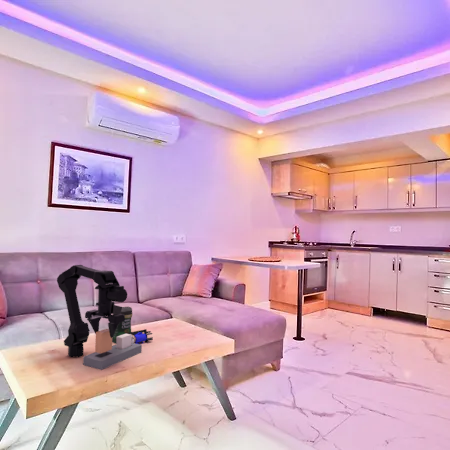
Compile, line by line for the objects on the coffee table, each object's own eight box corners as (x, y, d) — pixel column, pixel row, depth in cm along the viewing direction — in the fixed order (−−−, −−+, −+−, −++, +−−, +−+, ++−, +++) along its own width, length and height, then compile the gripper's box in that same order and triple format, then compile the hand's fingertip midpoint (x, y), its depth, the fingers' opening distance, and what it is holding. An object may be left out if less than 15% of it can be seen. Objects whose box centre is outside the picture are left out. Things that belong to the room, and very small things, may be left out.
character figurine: (154, 344, 175) (126, 350, 166) (148, 340, 181) (121, 345, 171) (155, 329, 175) (127, 335, 165) (149, 325, 180) (122, 330, 171)
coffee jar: (117, 346, 170) (118, 309, 170) (109, 343, 175) (110, 307, 176) (134, 342, 177) (135, 307, 177) (126, 339, 182) (127, 304, 183)
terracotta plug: (95, 352, 144) (95, 332, 145) (106, 348, 150) (106, 328, 150) (101, 353, 143) (101, 333, 143) (111, 349, 148) (112, 329, 148)
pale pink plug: (116, 355, 155) (116, 336, 155) (125, 351, 160) (125, 333, 160) (121, 356, 153) (122, 337, 153) (131, 352, 158) (131, 334, 159)
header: (83, 367, 143) (83, 356, 143) (124, 350, 164) (124, 341, 165) (101, 372, 138) (101, 361, 138) (141, 354, 159) (141, 344, 159)
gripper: (134, 299, 150) (133, 334, 149) (104, 295, 158) (103, 328, 158) (115, 303, 140) (114, 341, 139) (84, 299, 149) (83, 334, 148)
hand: (104, 335), depth 147 cm, fingers open, 9 cm apart
